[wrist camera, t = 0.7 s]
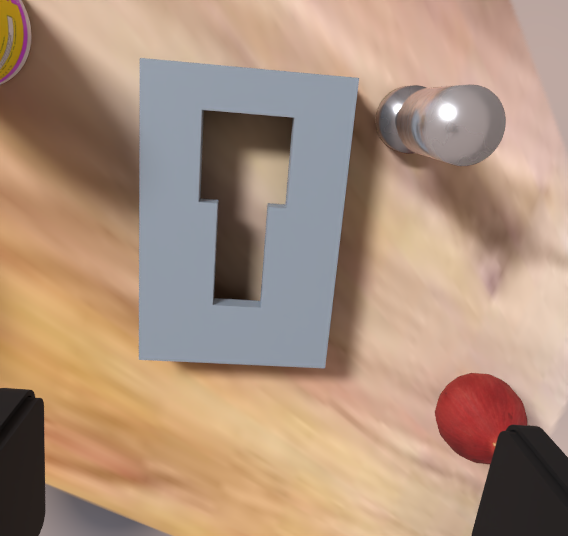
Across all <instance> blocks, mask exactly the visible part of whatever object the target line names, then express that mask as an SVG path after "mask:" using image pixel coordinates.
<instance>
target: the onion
mask: <svg viewBox="0 0 568 536" xmlns="http://www.w3.org/2000/svg"><path fill="white" fill-rule="evenodd" d="M435 416H436V421H437V425H438V429H439V432H440V435H441V436H442V437H443V439H444V440H445V441H446V442H447V444H448V445H449V446H450V447H451V448H452V449H453V450H454V451H455V452H456V453H457V454H459V455H460V456H462V457H464V458H466V459H468V460H470V461H472V462H476V463H483V464H491V460H492V457H493V453H494V449H495V446H496V442H497V438H498V435H499V433H500V432H502V431H506V429H507V428H508V426H510V425H526V426H527V416H526V412H525V408H524V405H523V403H522V401H521V399H520V398H519V397H518V396H517V394H516V393H515V392H514V391H513V390H512V388H511V387H510V386H509V385H508V384H507V383H505V382H504V381H502V380H500V379H498V378H496V377H494V376H492V375H490V374H478V373H469V374H466V375H463V376H459V377H457V378H456V379H455V380H453V381H452V382H451V383H449V384H448V385H447V386H446V388H445V389H444V390H443V392H442V393H441V394H440V397H439V399H438V403H437V406H436V410H435Z"/></svg>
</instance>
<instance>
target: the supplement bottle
mask: <svg viewBox="0 0 568 536" xmlns="http://www.w3.org/2000/svg"><path fill="white" fill-rule="evenodd" d="M30 47H31V25H30V20H29V17H28V13H27V11H26V9H25V6H24V4H23V2H22V0H0V85H1V84H3V83H5V82H7V81H8V80H10V79H11V78H13V77H14V76H15V75H16V74H17V73H18V72H19V71H20V70H21V68H22V67H23V65H24V64H25V62H26V60H27V57H28V55H29V51H30Z"/></svg>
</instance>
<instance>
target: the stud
mask: <svg viewBox="0 0 568 536" xmlns="http://www.w3.org/2000/svg"><path fill="white" fill-rule="evenodd" d="M505 123H506V118H505V112H504V108H503V106H502V103H501V102H500V100H499V99H498V97H497V96H496V95H495V94H494V93H493V92H492V91H490V90H489V89H487V88H485V87H482V86H478V85H459V86H446V87H433V88H426V87H423V86H405V87H400V88H397V89H395V90H393V91H391V92H390V93H389V94H388V95H387V96H386V97H385V98H384V99H383V100H382V102H381V103H380V105H379V107H378V110H377V113H376V129H377V132H378V135H379V137H380V138H381V140H382V141H383V142H384V143H385V144H386V145H387V146H388V147H390V148H392V149H394V150H397V151H400V152H403V153H417V154H421V155H424V156H427V157H430V158H433V159H437V160H440V161H443V162H446V163H449V164H453V165H457V166H469V165H473V164H476V163H479V162H481V161H483V160H484V159H486V158H487V157H488V156H490V155H491V154H492V153H493V152H494V151H495V149H496V148H497V147H498V145H499V143H500V142H501V140H502V137H503V134H504V131H505Z"/></svg>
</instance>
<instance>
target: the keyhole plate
mask: <svg viewBox="0 0 568 536" xmlns="http://www.w3.org/2000/svg"><path fill="white" fill-rule="evenodd" d="M358 83H359V78H352V77H341V76H330V75H319V74H309V73H298V72H287V71H276V70H265V69H254V68H243V67H232V66H221V65H210V64H200V63H189V62H178V61H167V60H156V59H145V58H140V177H139V360H158V361H179V362H201V363H222V364H243V365H265V366H286V367H307V368H325V364H326V356H327V347H328V339H329V330H330V322H331V313H332V305H333V296H334V287H335V279H336V270H337V262H338V253H339V245H340V236H341V228H342V219H343V211H344V202H345V194H346V185H347V176H348V168H349V159H350V151H351V142H352V134H353V125H354V117H355V108H356V100H357V91H358ZM204 110H211V111H222V112H234V113H246V114H258V115H270V116H281V117H293V122H292V134H291V146H290V158H289V170H288V182H287V193H286V205H284V204H270V203H268V206H267V220H266V233H265V247H264V260H263V273H262V287H261V300H260V301H253V300H235V299H218V298H214V286H215V265H216V244H217V222H218V201H219V200H214V199H200V194H201V167H202V140H203V113H204Z"/></svg>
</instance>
